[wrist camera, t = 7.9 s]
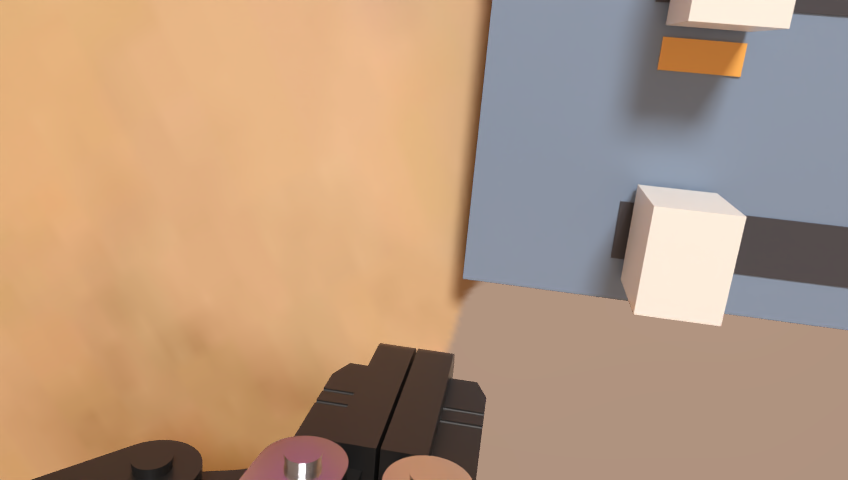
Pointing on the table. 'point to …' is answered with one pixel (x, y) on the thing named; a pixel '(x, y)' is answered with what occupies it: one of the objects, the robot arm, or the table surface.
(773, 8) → the tab
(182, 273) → the table surface
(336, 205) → the table surface
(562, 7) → the switch bank
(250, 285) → the table surface
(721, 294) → the tab
